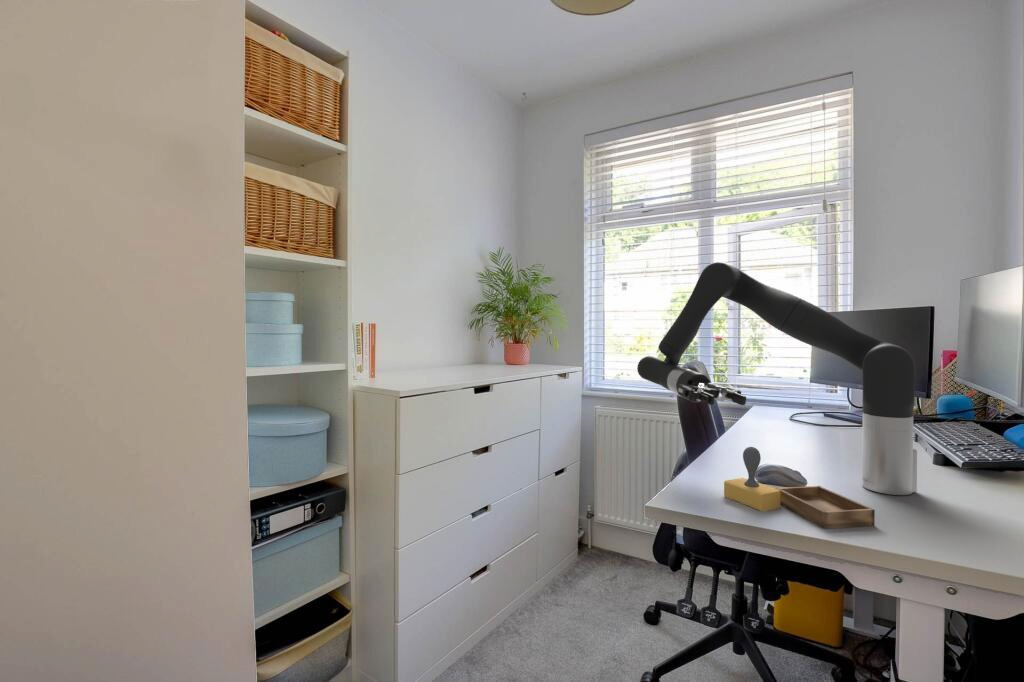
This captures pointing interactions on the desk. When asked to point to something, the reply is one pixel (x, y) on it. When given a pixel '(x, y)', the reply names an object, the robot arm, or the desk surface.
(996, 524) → the desk surface
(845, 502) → the tray
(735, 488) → the rubber stamp
